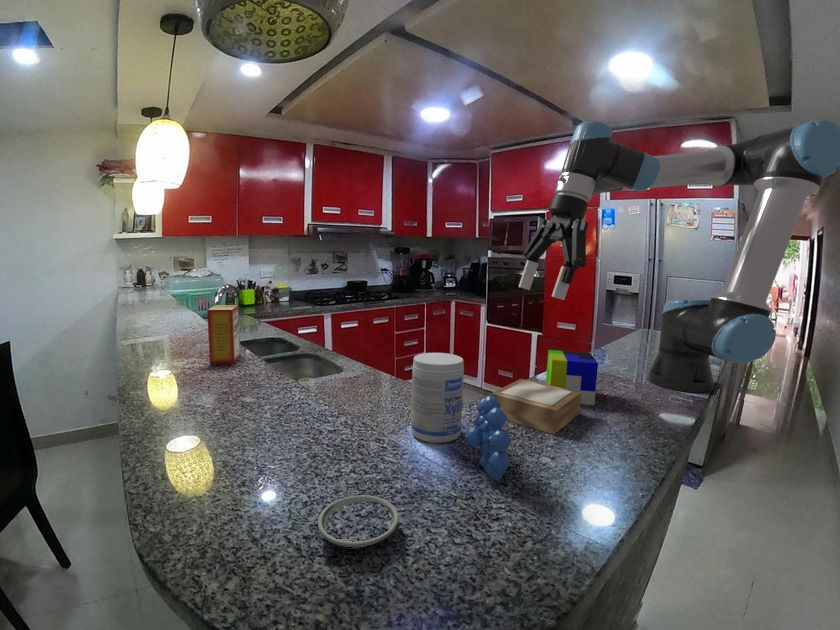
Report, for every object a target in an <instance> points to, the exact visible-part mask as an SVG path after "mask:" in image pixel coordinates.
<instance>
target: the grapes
mask: <svg viewBox="0 0 840 630" xmlns="http://www.w3.org/2000/svg"><path fill="white" fill-rule="evenodd" d="M500 408H501V404H500V403H499V401H498V400H497V399H496V398H495V397H494V396H492V395H491V394H489V395H487V396H486V397H482V399H480V401H479V402H478V404H477V405H476V407H475V409H476V411H477V412H478V415H477V417H476V419H475V420H474V422H473V424H474V425H472V426H470V427H469V429H468V430H467V432H466V434H465V435H464V438H465V440H466V441H467V443H468V444H469V446H471V447H472V448H477V449H478V451H479V452H480V453H481V457H480V459H479V463H480V465H481V466H482V467H483V469H484V468H485V469H484V471H485V472H486V473H487V474H488V477H490V479H492V480H493V479H495V481H499V480H501V479H502V477H503V476H504V474H505V472H506V470H507V469H508V467H509V466H510V464H511V459H510V457H509V455H508V454H507V453H506V451H507V449H508V447H509V446H510V444H511V442H512V438H511V437H510V435H508V433H507V432H506V431H505V430H504V429H503V427H504V426H505V424H506V423H507V416H506V415H505V413H504V412H503V411H502V410H501V409H500ZM498 479H499V480H498Z"/></svg>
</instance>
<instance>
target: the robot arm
mask: <svg viewBox="0 0 840 630" xmlns="http://www.w3.org/2000/svg"><path fill="white" fill-rule="evenodd" d="M612 136H613V129H612V127H611V126H608V124H606V123H604V122H602V121H595V120H588V121H583V122H581V123H580V124H578V125H576V128H575V130H574V132H573V135H572V137H571V140H570V142H569V145H568V146H569V147H568V150H567V153H566V155H565V159H564V162H563V166H562V169H561V172H560V175H559V177H558V181H557V185H556V187H555V190H554V193H555V195H553V196H552V199H551V202H550V205H549V208H548V212H549V213H550V214H551V217H550V220H548V219H546V218H542V219H541V221H540V222H539V225H538V228H537V230H536V232H535V233H534V234H533V236H532V237H531V239H530V241H529V243H528V244H527V246H526V247H525V250H524V251H523V253H522V257H524V258H525V261H526V262H525V265H524V268H523V271H522V274H521V277H520V281H519V284H518V288H520V289H521V288H522V289H524V290H528V291H531V287H532V284H533V282H534V277H535V274H536V272H537V269H538V266H539V263H540V262H539V259H540V258H541V257H542V256H543V255H544V254H545V252H546V251H547V250H548V249H549V248H550V247H551V245H553V244H556V243H557V242H561V249H562V254H563V260H564V262H563V263H561V267H560V269H559V273H558V276H557V279H556V281H555V285H554V288H553V291H552V294H551V297H552V298H555V299H559V300H563V301H565V299H566V296H567V293H568V290H569V287H570V285H571V283H572V281H573V278H574V275H575V273H576V270H578V269H579V268H585V266H586V265H587V262H586V261H587V230H588V226H589V222H588V221H585V220H584V218H585V216H586V212H587V209H588V207H589V203H588V202H589V201H590V200H591V198H592V196H595V195H598V194H602V193H603V194H604V193H613V192H615V193H617V192H623V191H636V192H645V191H647V190H648V189H656V188H666V187H667V188H668V187H676V186H687V185H699V184H709V185H711V186H713V187H722V186H754V187H755V189H756V190H757V191H758V193H757V197H756V199H755V202H754V205H753V207H752V209H751V212H750V214H749V218H748V220H747V222H746V225H745V228H744V231H743V233H742V236H741V239H740V242H739V245H738V247H737V250H736V252H735V255H734V257H733V261H732V263H731V266H730V269H729V270H728V274H727V277H726V279H725V282H724V284H723V287H722V290H721V291H720V292H719V293H716V294H715V295H712V296H711V298H710V299H669V300H667V301H665V303H664V305H663V310H662V313H661V315H662V316H661V318H662V319H661V325H660V337H659V342H658V344H659V346H658V353H657V354H656V356H655V359H654V361H653V362H652V364H651V366H650V368H649V370H648V376H647V378H648V379H647V380H648V381H649V382H650V383H652V384H654V385H656V386H659V387H661V388H665V389H669V390H674V391H680V392H686V393H687V392H688V393H701V394H702V393H709V392H711V391H713V390H714V386H715V385H714V384H715V381H714V380H715V379H714V375H713V371H712V368H711V362H710V356H712V357H714V358H717V359H719V360H721V361H725V362H729V363H730V362H731V363H735V364H750V363H753V362H755V361H756V360H759V359H761V358H762V357H764V356H765V355H766V354H767V353H768V352H769V351H770V350H771V348H772V347H773V345H774V343H775V340H776V337H777V331H776V329H775V324H774V322H773V320H772V319H770V316H771V312H772V309H771V308H770V306H769V305H768V302H767V300H768V297H769V294H770V292H771V290H772V287H773V284H774V282H775V279H776V277H777V275H778V273H779V270H780V266H781V264H782V261H783V259H784V256H785V254H786V251H787V249H788V246H789V244H790V240H791V238H792V235H793V233H794V231H795V228H796V226H797V223H798V221H799V217H800V215H801V212H802V211H803V207H804V204H805V202H806V200H807V198H808V197H809V196H811V195H813V194H815V193H817V192H819V190H820V188H821V185H822V183H823V181H824V178H825V177H828V176H830V175H832V174H835V173H836V172H837V171H839V170H840V125H838V124H837V123H835V122H833V121H831V120H827V119H817V120H811V121H804V122H799V123H798V124H796V125H794V126H790V127H787V128H783V129H779V130H776V131H772V132H769V133H766V134H762V135H758V136H755V137H753V138H750V139H745V140H744V141H739V142H736V143H732V144H725V145H719V146H716V147H714V148H713V149H712V150H709V151H698V152H686V153H685V152H684V153H676V154H674V153H673V154H664V155H663V154H662V155H651V154H648V153H647V152H646V151H645V152H644V151H640V150H637V149H634V148H631V147H629V146H625V145H623V144H620V143H617V142H616V141H614V140H612Z"/></svg>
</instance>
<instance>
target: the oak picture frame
mask: <svg viewBox="0 0 840 630" xmlns="http://www.w3.org/2000/svg"><path fill="white" fill-rule="evenodd" d="M490 395H492V396H494V397H495V398H496V399H497V400H498V401H499V403H500V404H501V408H500V409H501V410H502V411H503V412H504V413H505V415H506V416H507V420H506V422H507V421H508V422H511V423H515V424H517V425H520V426H521V425H522V426H525V427H528V428H531V429H535V430H537V431H541V432H544V433H547V434H551V435H555V434H557V433H558V432H559V431H560V430H561V429H562V428H564V427H565V426H567V425H568V424H569V423H570V422H571V421H573V420H574V419H575V418H576V417H577V416H579V415H580V410H581V409H580V407H581V404H580V400H581V392H576V391H572V390H567V389H563V388H559V387H554V386H550V385H546V383H541V382H535V381H533V380H528V379H523V378H519V379H518V380H516V381H514V382H512V383H509V384H508V385H505V386H504V387H501V388H499V389H497V390H495V391H493V392H491V393H490Z"/></svg>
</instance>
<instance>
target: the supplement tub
mask: <svg viewBox="0 0 840 630" xmlns="http://www.w3.org/2000/svg"><path fill="white" fill-rule="evenodd" d="M464 363H465V362H464V358H462V357H461V356H459V355H456V354H452V353H447V352H425V353H419V354H416V355H415V356H414V357H413V364H412V375H411V377H412V378H411V381H412V382H411V410H410V411H411V415H410V418H411V419H410V430H411V434H412V435H413V436H414V438H417V439H418V440H419V441H422V442H425V443H431V444H444V443H450V442H453V441H455V440H457V439H458V438H459V437H460V435H461V434H462V421H463V420H462V419H463V418H462V417H463V400H464V399H463V398H464V395H463V393H464V380H465V379H464V377H465V375H464V373H465V370H464V369H465V366H464Z"/></svg>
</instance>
